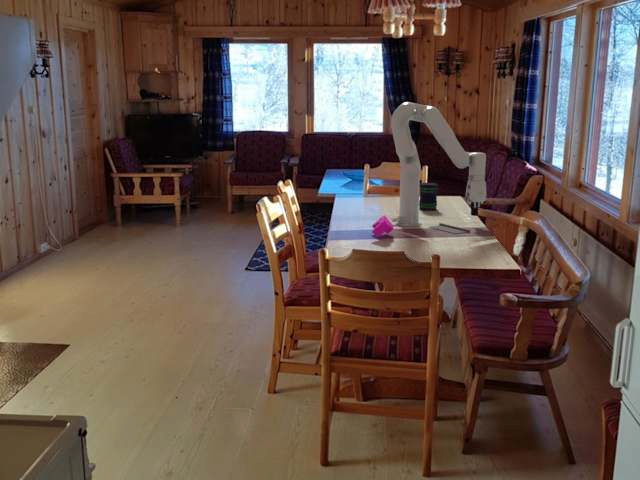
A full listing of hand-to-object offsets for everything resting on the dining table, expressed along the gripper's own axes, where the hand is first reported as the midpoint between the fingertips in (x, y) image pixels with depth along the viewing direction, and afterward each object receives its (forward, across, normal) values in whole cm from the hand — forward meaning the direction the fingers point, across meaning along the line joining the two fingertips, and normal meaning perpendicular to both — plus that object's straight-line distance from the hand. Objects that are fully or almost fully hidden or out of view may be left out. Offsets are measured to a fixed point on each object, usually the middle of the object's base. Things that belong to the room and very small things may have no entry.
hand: (474, 215), depth 315 cm
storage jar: (+6, +12, +47) cm, 49 cm away
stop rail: (+5, -13, 0) cm, 14 cm away
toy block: (0, -48, +6) cm, 49 cm away
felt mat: (+5, -18, 0) cm, 18 cm away
